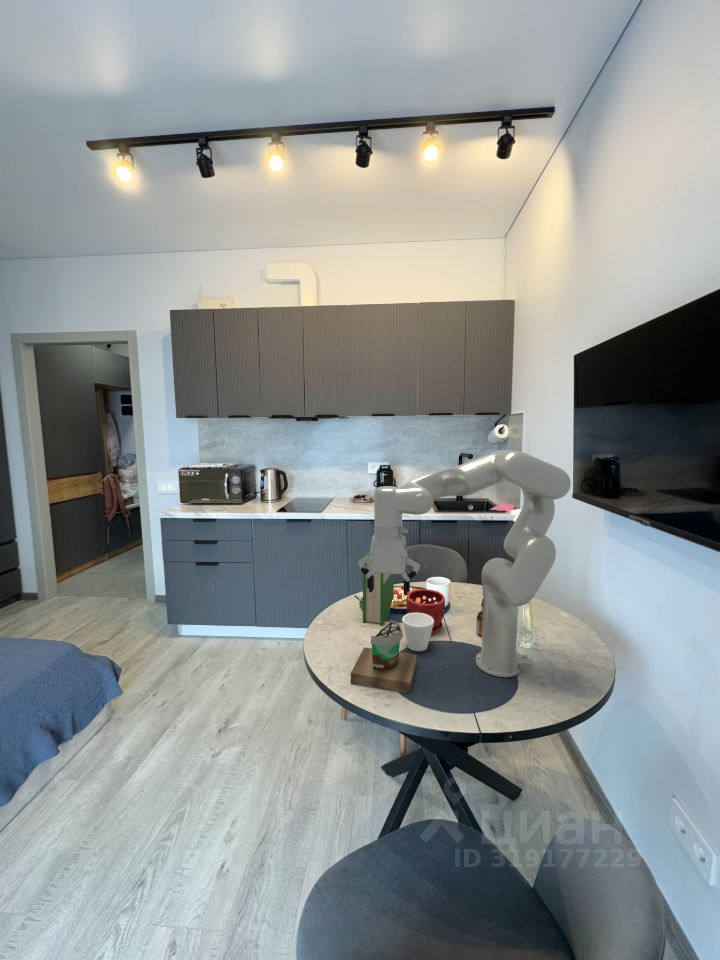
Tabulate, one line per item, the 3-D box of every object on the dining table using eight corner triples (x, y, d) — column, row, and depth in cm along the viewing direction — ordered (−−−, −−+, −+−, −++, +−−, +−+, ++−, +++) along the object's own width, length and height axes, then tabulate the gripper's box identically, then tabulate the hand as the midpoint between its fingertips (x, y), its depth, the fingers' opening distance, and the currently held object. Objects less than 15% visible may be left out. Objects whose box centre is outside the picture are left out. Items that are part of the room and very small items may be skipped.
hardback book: (382, 626, 143) (383, 559, 140) (362, 623, 145) (363, 557, 143) (393, 606, 160) (394, 546, 157) (375, 603, 162) (375, 545, 159)
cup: (424, 637, 135) (425, 610, 134) (439, 652, 126) (439, 624, 125) (396, 641, 132) (397, 614, 131) (409, 657, 123) (410, 628, 122)
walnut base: (416, 664, 119) (416, 654, 119) (409, 693, 106) (409, 682, 105) (363, 656, 123) (363, 647, 123) (350, 683, 110) (350, 673, 109)
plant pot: (404, 620, 148) (405, 588, 146) (441, 620, 147) (441, 588, 146) (407, 637, 135) (408, 603, 134) (447, 638, 134) (448, 603, 133)
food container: (390, 678, 107) (391, 642, 106) (370, 671, 110) (370, 636, 109) (409, 656, 118) (410, 623, 117) (390, 650, 121) (390, 618, 120)
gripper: (421, 530, 112) (421, 590, 114) (361, 527, 116) (361, 584, 118) (418, 536, 105) (418, 600, 107) (354, 533, 109) (354, 594, 111)
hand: (388, 592), depth 112 cm, fingers open, 9 cm apart
